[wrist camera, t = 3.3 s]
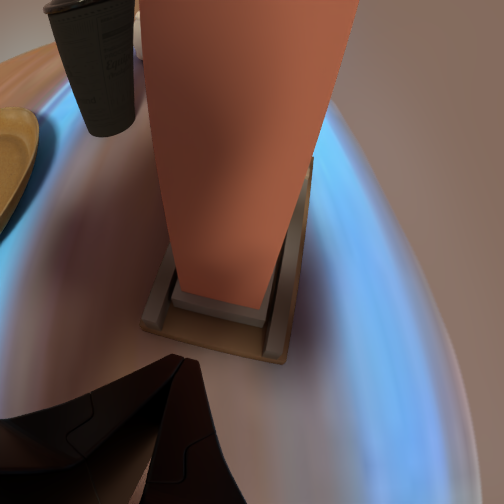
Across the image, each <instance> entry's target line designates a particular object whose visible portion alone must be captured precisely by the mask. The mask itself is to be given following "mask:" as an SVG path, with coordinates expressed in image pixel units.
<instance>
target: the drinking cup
mask: <svg viewBox="0 0 504 504" xmlns="http://www.w3.org/2000/svg"><path fill="white" fill-rule="evenodd" d="M134 7H135V0H52V1H51V2H50V3H48V4H46V5H45V6H44V7H43V11H44V13H45V14H48V17H49V21H50V24H51V28H52V31H53V35H54V38H55V41H56V44H57V47H58V51H59V54H60V57H61V60H62V63H63V66H64V69H65V71H66V74H67V77H68V80H69V83H70V85H71V88H72V91H73V93H74V96H75V99H76V101H77V104H78V107H79V109H80V112H81V114H82V117H83V119H84V122H85V124H86V127H87V129H88V131H89V133H90V134H91V135H93V136H96V137H108V136H112V135H116V134H118V133H120V132H122V131H124V130H126V129H127V128H128V127H130V126H131V124H132V123H133V122H134V119H135V107H134V78H133V34H134Z"/></svg>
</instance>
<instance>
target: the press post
mask: <svg viewBox="0 0 504 504" xmlns="http://www.w3.org/2000/svg"><path fill="white" fill-rule="evenodd" d="M358 3H359V0H139V8H140V27H141V42H142V55H143V66H144V77H145V86H146V95H147V104H148V112H149V120H150V127H151V134H152V141H153V148H154V155H155V161H156V167H157V173H158V179H159V185H160V191H161V196H162V202H163V207H164V212H165V218H166V223H167V228H168V233H169V237H170V242H171V247H172V252H173V256H174V261H175V265H176V270H177V274H178V279H177V282H176V285H175V288H174V291H173V294H172V297H171V299H172V302H173V305H174V307H178V308H181V309H185V310H189V311H193V312H197V313H201V314H205V315H209V316H213V317H217V318H221V319H225V320H229V321H234V322H238V323H242V324H247V325H251V326H256V327H260V328H262V327H263V325H264V322H265V319H266V314H267V309H268V304H269V299H270V294H271V289H272V284H273V278H274V273H275V268H276V262H277V258H278V256H279V253H280V250H281V247H282V244H283V241H284V238H285V235H286V232H287V230H288V227H289V224H290V221H291V218H292V215H293V212H294V209H295V206H296V203H297V200H298V197H299V194H300V191H301V188H302V185H303V182H304V179H305V176H306V173H307V170H308V167H309V164H310V161H311V158H312V155H313V152H314V149H315V145H316V142H317V139H318V136H319V133H320V130H321V127H322V124H323V120H324V117H325V114H326V111H327V108H328V105H329V101H330V98H331V95H332V91H333V88H334V85H335V82H336V79H337V75H338V72H339V69H340V65H341V62H342V59H343V55H344V52H345V49H346V45H347V41H348V38H349V35H350V31H351V28H352V24H353V21H354V18H355V14H356V10H357V7H358Z"/></svg>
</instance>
